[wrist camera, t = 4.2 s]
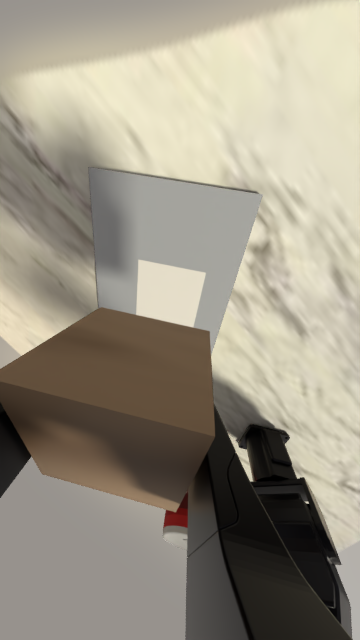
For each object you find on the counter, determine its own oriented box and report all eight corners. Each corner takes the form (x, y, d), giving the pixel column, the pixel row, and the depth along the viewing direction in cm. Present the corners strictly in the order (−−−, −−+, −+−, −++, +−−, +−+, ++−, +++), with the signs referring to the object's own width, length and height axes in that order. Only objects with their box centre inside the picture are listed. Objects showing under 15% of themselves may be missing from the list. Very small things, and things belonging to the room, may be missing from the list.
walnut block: (187, 402, 11) (175, 512, 6) (106, 382, 11) (42, 473, 7) (209, 331, 8) (215, 436, 4) (101, 306, 8) (-14, 378, 4)
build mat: (206, 366, 23) (206, 368, 22) (103, 341, 24) (101, 343, 23) (261, 196, 14) (263, 194, 13) (92, 169, 15) (88, 166, 14)
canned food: (192, 469, 36) (187, 553, 26) (167, 451, 34) (151, 534, 24) (218, 461, 33) (224, 553, 23) (192, 441, 31) (185, 531, 21)
